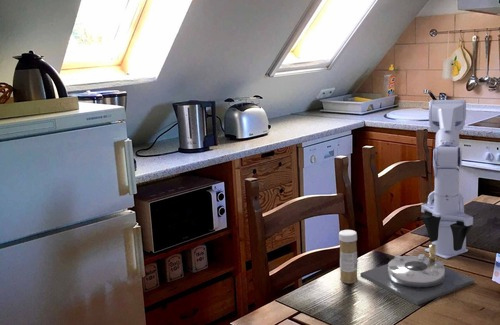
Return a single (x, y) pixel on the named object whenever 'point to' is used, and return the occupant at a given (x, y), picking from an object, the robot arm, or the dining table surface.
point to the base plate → (417, 293)
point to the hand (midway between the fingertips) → (445, 245)
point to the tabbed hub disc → (417, 269)
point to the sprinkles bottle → (348, 256)
